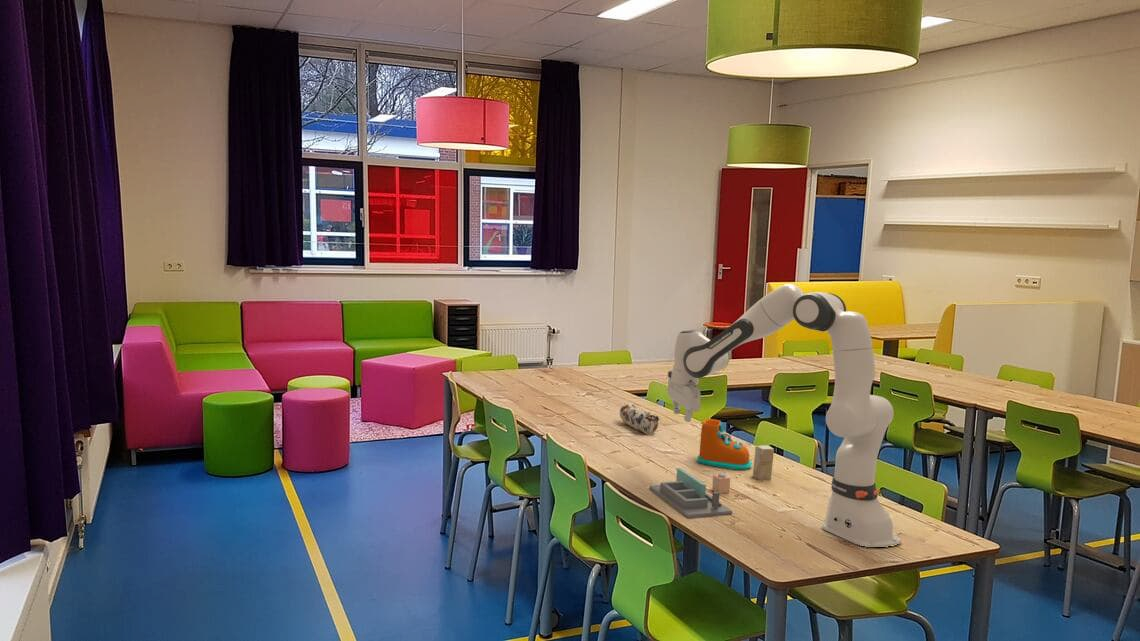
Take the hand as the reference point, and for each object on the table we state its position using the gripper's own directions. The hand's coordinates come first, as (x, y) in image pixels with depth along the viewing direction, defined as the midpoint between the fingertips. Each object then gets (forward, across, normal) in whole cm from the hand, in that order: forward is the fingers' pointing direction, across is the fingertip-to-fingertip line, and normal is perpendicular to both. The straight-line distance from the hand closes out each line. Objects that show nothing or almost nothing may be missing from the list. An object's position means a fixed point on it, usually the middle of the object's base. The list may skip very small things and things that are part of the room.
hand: (681, 417), depth 263 cm
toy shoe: (+22, +14, -24) cm, 36 cm away
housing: (+21, -21, +4) cm, 30 cm away
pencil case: (+23, +63, -8) cm, 68 cm away
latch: (+20, -15, +1) cm, 25 cm away
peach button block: (+21, -14, -10) cm, 27 cm away
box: (+21, -3, -31) cm, 38 cm away
